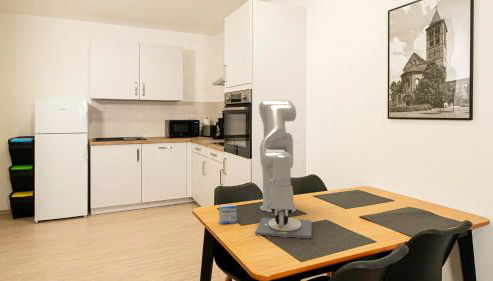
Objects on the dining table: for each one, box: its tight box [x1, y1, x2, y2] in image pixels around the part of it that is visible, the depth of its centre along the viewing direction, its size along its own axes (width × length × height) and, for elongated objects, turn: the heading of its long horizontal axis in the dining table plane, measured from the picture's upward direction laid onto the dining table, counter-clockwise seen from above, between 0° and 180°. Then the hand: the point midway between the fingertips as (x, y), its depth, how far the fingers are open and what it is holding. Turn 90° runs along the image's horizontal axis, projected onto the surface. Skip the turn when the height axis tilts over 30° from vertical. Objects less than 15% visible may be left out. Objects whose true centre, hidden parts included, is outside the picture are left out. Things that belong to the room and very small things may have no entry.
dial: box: [268, 211, 301, 231], centre depth 147 cm, size 17×15×8 cm
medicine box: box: [218, 203, 238, 225], centre depth 157 cm, size 8×4×9 cm, turn 105°
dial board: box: [254, 217, 313, 239], centre depth 148 cm, size 20×24×2 cm
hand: (281, 223), depth 142 cm, fingers closed on dial, 2 cm apart
